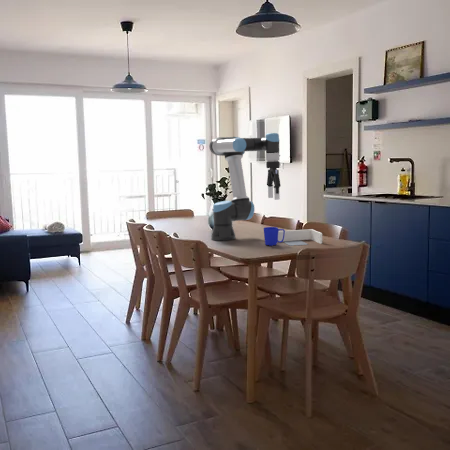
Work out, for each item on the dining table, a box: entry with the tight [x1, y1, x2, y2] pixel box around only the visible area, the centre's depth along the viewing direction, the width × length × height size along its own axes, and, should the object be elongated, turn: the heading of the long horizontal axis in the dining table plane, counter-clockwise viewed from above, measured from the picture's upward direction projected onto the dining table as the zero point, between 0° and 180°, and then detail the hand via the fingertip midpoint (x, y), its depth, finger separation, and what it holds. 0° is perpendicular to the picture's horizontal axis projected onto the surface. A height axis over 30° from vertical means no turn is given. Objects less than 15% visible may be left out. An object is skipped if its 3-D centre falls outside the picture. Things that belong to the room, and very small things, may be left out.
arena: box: [278, 228, 323, 245], centre depth 310 cm, size 25×17×6 cm
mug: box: [263, 226, 286, 247], centre depth 303 cm, size 8×12×10 cm
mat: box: [281, 240, 309, 247], centre depth 308 cm, size 11×15×1 cm
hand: (273, 198), depth 300 cm, fingers open, 13 cm apart
